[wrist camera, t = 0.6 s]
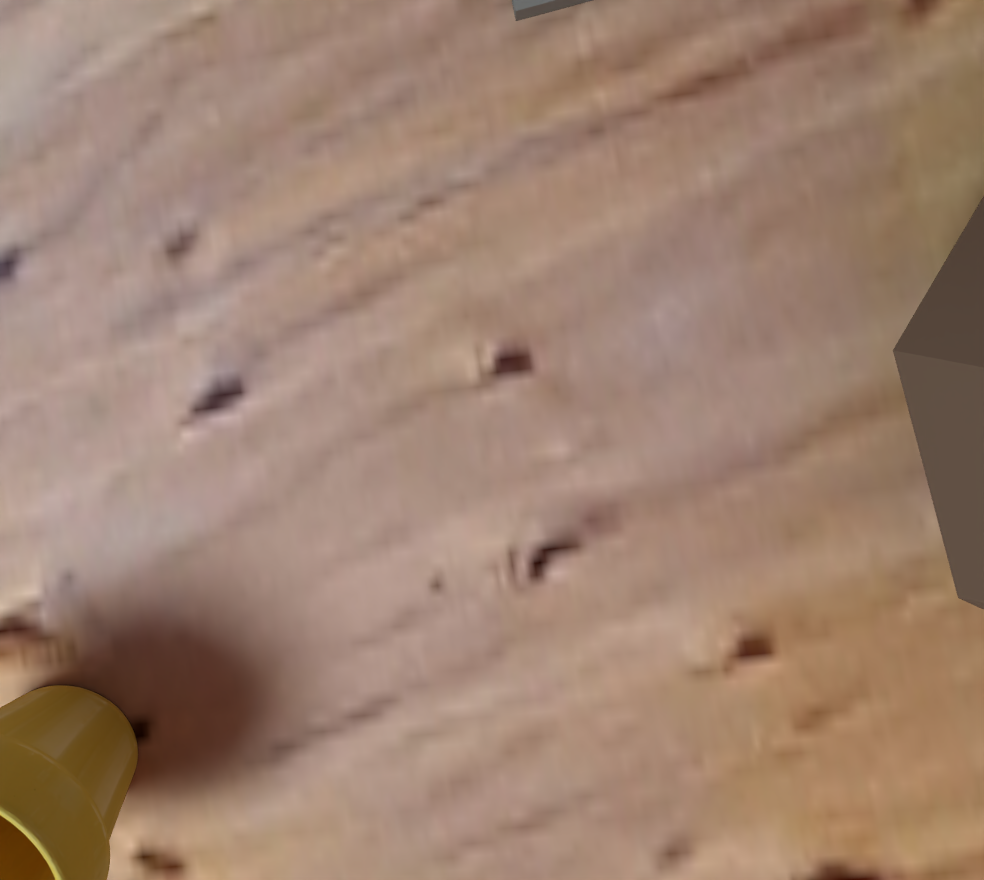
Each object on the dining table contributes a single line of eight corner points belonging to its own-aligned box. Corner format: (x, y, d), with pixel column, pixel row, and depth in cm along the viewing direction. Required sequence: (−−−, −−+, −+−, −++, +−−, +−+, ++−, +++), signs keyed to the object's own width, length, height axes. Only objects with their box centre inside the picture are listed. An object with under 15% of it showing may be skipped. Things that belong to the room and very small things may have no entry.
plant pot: (132, 624, 38) (1, 754, 29) (209, 809, 41) (111, 985, 31) (-66, 671, 40) (-253, 812, 30) (20, 849, 42) (-128, 1031, 33)
